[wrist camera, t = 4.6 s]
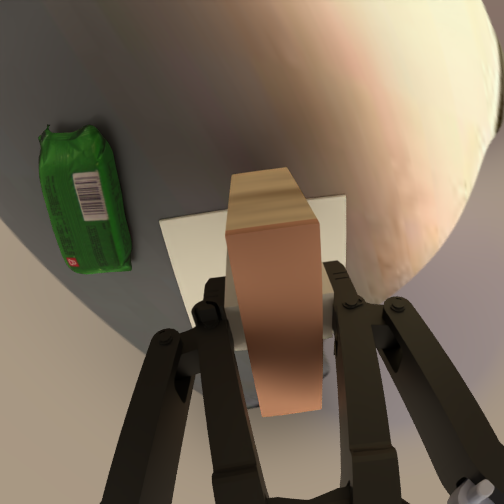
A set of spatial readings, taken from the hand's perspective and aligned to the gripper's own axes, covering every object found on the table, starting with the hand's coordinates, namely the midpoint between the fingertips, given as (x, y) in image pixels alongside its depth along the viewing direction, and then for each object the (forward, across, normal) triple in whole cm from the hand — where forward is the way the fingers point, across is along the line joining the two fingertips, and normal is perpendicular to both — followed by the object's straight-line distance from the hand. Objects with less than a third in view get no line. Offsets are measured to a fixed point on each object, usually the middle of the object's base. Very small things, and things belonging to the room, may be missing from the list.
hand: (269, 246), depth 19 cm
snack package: (+12, -16, +2) cm, 20 cm away
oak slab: (0, 0, 0) cm, 1 cm away
